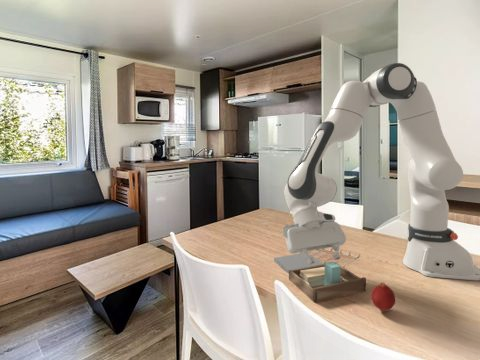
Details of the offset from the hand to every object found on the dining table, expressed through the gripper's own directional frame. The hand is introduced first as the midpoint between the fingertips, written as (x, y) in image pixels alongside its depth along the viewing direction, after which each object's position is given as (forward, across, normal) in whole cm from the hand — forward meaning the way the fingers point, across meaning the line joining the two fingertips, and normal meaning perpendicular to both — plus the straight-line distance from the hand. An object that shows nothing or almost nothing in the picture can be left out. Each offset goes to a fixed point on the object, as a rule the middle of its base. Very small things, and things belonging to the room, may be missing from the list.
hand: (325, 261), depth 94 cm
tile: (-5, 0, +16) cm, 17 cm away
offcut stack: (+3, 0, +8) cm, 8 cm away
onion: (+18, +6, -7) cm, 20 cm away
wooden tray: (+6, 0, +5) cm, 8 cm away
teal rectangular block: (+8, 0, +3) cm, 8 cm away
